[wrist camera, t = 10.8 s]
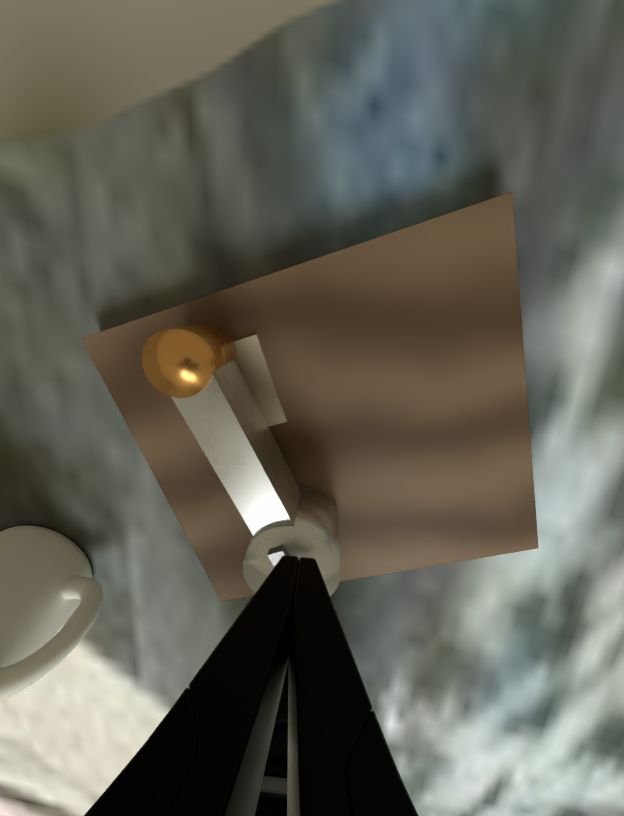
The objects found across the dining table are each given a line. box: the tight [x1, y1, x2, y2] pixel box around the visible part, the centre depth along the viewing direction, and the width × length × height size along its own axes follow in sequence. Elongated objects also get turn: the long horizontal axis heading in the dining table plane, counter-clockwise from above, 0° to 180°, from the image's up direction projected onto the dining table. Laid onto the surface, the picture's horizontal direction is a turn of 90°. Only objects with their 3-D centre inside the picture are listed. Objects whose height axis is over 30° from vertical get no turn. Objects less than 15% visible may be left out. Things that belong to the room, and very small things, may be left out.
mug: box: [0, 526, 104, 701], centre depth 19 cm, size 12×8×10 cm
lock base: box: [81, 192, 538, 601], centre depth 18 cm, size 20×22×2 cm
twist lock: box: [142, 323, 341, 596], centre depth 16 cm, size 15×5×4 cm, turn 23°
